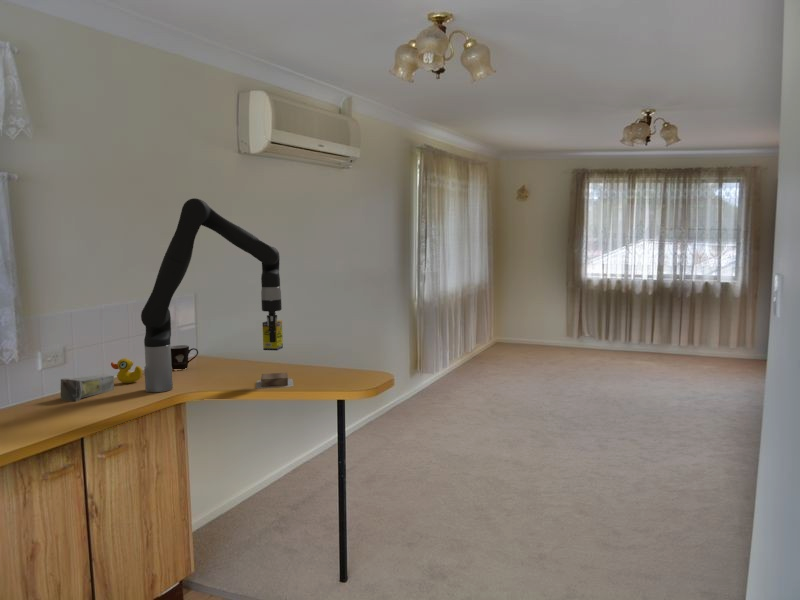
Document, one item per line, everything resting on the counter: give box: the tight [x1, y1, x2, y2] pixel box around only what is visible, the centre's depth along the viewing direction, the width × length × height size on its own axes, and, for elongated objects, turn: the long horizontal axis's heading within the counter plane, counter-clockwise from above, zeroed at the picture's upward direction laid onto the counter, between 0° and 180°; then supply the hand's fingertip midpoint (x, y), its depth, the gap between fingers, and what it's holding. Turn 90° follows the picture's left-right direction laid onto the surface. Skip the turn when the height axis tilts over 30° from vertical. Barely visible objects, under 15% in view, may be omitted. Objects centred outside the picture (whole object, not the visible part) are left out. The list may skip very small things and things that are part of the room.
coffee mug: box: [171, 344, 199, 369], centre depth 280 cm, size 12×9×10 cm
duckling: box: [110, 358, 143, 384], centre depth 254 cm, size 11×5×10 cm, turn 109°
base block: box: [260, 372, 289, 387], centre depth 248 cm, size 10×10×3 cm
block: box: [60, 374, 115, 402], centre depth 236 cm, size 19×8×8 cm, turn 157°
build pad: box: [255, 378, 294, 390], centre depth 248 cm, size 14×14×1 cm
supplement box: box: [261, 320, 284, 351], centre depth 246 cm, size 6×6×11 cm
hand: (272, 340), depth 246 cm, fingers closed on supplement box, 7 cm apart
